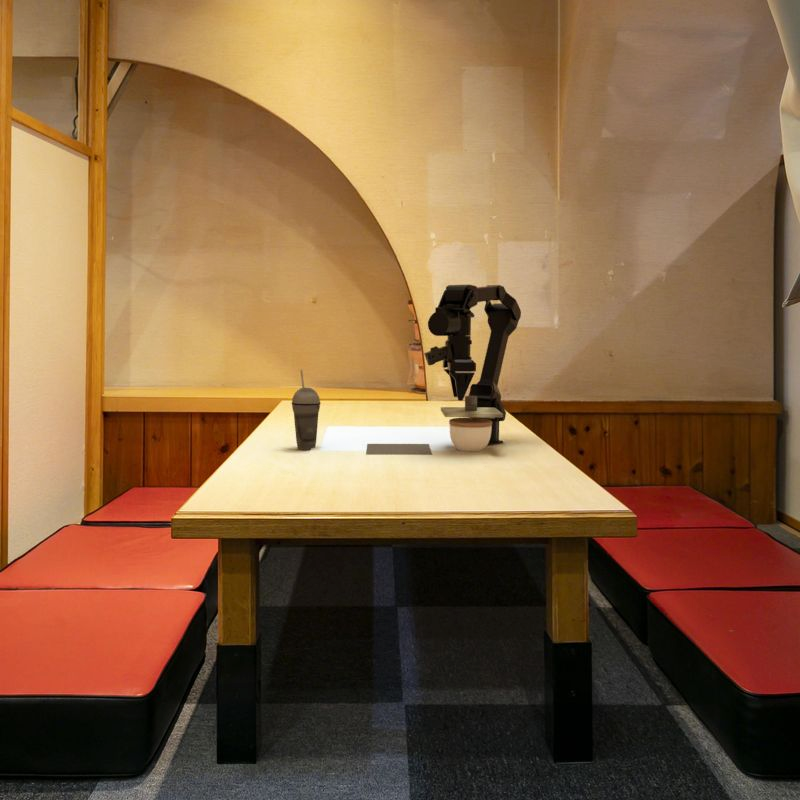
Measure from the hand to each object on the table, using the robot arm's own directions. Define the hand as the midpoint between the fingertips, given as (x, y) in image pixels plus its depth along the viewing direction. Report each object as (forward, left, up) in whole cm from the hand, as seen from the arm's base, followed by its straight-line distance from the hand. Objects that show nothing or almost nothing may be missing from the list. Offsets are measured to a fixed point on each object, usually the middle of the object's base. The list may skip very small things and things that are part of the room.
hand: (458, 398), depth 190 cm
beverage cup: (+29, -25, -13) cm, 40 cm away
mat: (+12, -9, -13) cm, 20 cm away
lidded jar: (-3, +2, -13) cm, 14 cm away
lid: (-3, +2, -4) cm, 5 cm away
